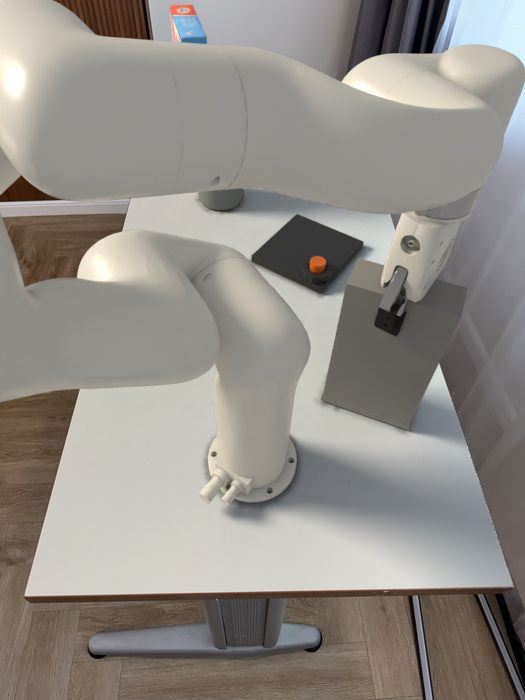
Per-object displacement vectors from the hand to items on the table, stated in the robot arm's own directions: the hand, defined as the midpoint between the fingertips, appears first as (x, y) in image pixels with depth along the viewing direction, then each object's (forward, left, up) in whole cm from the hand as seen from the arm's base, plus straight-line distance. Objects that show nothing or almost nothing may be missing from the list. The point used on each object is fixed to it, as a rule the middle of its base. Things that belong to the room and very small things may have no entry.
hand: (397, 313), depth 64 cm
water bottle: (+30, +52, -20) cm, 63 cm away
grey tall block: (0, 0, -20) cm, 20 cm away
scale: (+25, +26, -20) cm, 41 cm away
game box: (+47, +72, -20) cm, 89 cm away
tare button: (+20, +21, -17) cm, 33 cm away
